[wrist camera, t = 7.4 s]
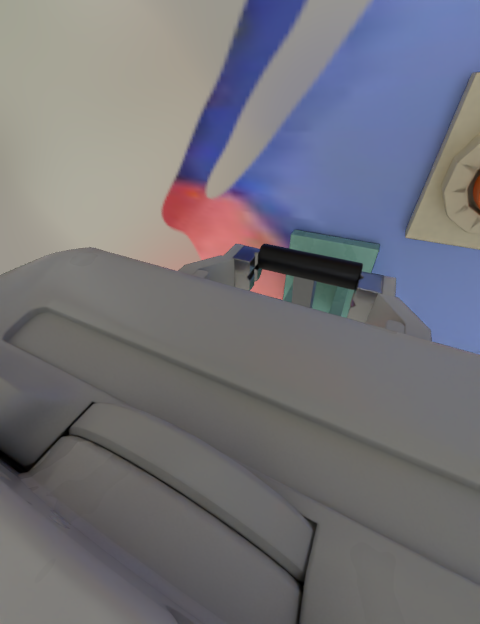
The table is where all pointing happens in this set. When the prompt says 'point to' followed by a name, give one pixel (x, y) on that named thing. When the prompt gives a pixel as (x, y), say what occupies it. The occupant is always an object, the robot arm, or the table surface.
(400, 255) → the table surface
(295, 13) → the table surface
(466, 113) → the button box
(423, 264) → the table surface
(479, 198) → the button
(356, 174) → the table surface
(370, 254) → the green lever mount
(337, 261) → the lever
